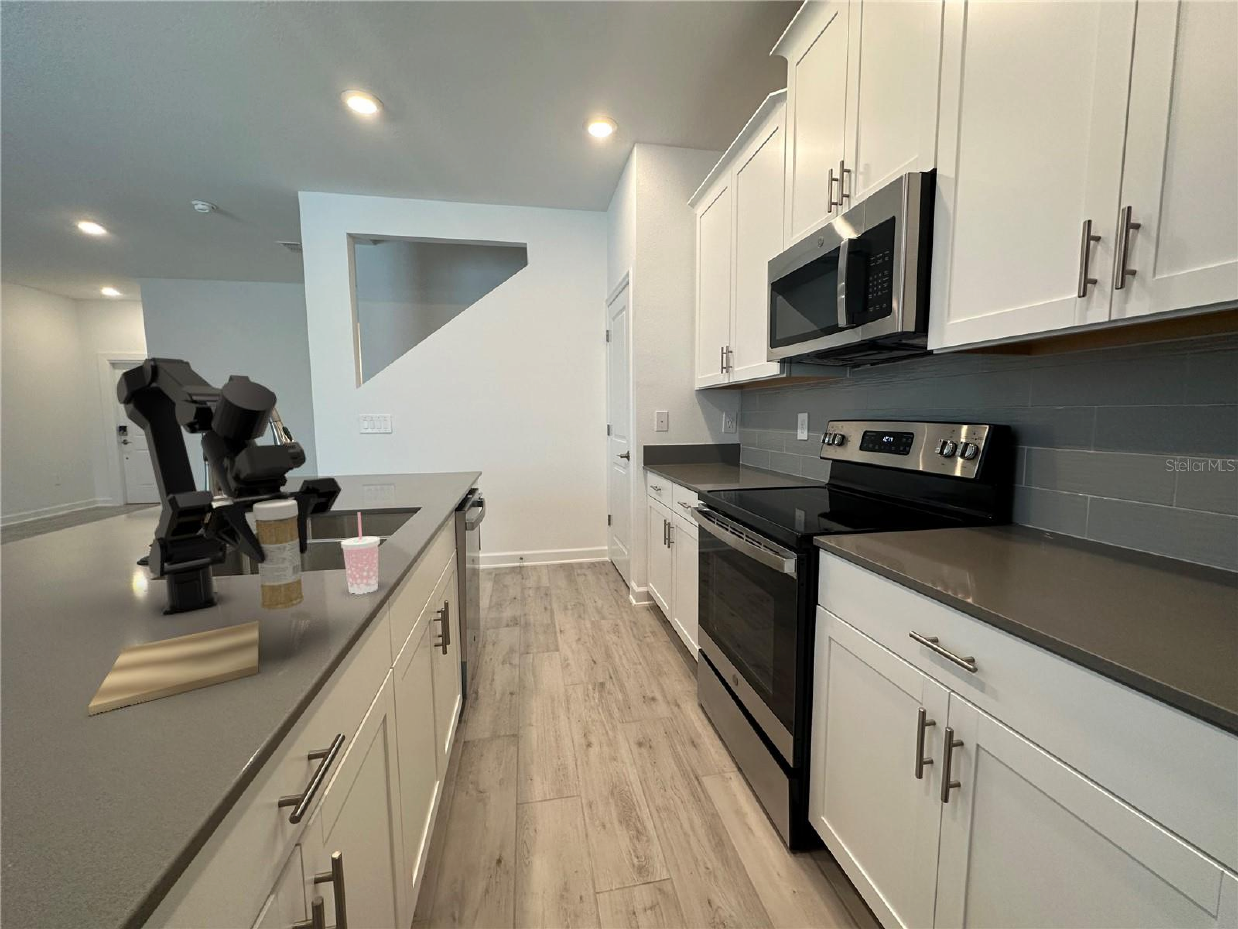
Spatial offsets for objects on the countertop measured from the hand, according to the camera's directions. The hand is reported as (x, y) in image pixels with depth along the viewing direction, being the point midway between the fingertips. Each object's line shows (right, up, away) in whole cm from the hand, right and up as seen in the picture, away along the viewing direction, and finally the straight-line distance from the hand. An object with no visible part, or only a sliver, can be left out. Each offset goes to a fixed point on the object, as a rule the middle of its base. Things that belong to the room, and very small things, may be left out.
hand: (284, 556), depth 61 cm
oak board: (-12, -13, 0) cm, 18 cm away
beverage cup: (-4, -11, +26) cm, 28 cm away
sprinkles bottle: (-1, -7, +1) cm, 7 cm away
